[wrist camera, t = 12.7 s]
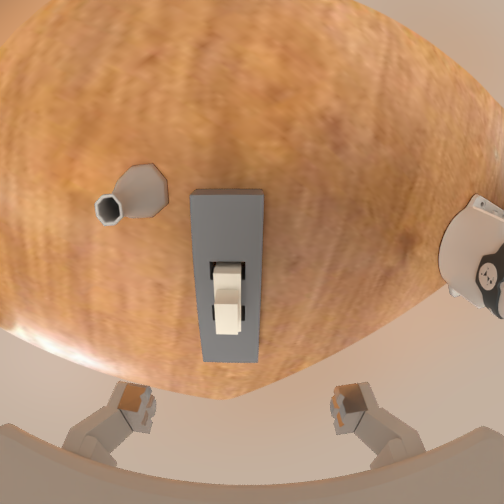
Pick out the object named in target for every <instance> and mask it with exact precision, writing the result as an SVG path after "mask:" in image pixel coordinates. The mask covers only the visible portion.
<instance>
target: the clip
mask: <svg viewBox="0 0 504 504" xmlns="http://www.w3.org/2000/svg"><path fill="white" fill-rule="evenodd" d="M213 280H214V298H215V302H214V308H215V324H216V334H228V335H238V332H241V262H216V267H215V268H214V272H213Z"/></svg>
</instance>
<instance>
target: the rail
mask: <svg viewBox="0 0 504 504" xmlns="http://www.w3.org/2000/svg"><path fill="white" fill-rule="evenodd" d="M190 213H191V233H192V250H193V264H194V277H195V289H196V300H197V310H198V320H199V329H200V338H201V346H202V354H203V362H227V363H258V350H259V326H260V301H261V275H262V246H263V214H264V194H263V191H262V189H196V190H195V191H194V192H193V193H192V194H190ZM213 262H245V266H241V332H238V335H228V334H216V324H215V308H214V302H215V298H214V280H213V272H214V268H215V267H216V266H213Z"/></svg>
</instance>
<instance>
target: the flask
mask: <svg viewBox="0 0 504 504" xmlns="http://www.w3.org/2000/svg"><path fill="white" fill-rule="evenodd" d="M168 203H169V202H168V189H167V180H166V179H165V178H164V176H163V175H162V174H161V173H160V172H159V171H158V169H157V168H156V167H155V166H154V165H153V163H152V164H143V165H135V166H131V167H130V168H129V169H128V170H127V171H126V172H125V173H124V174H123V175H122V176H121V178H120V179H119V180H118V181H117V183H116V185H115V188H114V190H113V192H112V194H104V195H102V196H101V197H100V198H99V199H98V200H97V201H96V203H95V204H94V205H95V212H96V217H97V218H98V219H99V220H100V222H101V223H102V224H103V225H104V226H110V225H116V224H117V223H118V222H119V221H120V220H121V219H122V218H123V217H124V216H125V217H129V218H148V217H154V216H155V215H156V214H157V213H158V212H159V211H160V210H161V209H163V208H164V207H165V206H166V205H167V204H168Z"/></svg>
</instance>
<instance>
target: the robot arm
mask: <svg viewBox="0 0 504 504" xmlns="http://www.w3.org/2000/svg"><path fill="white" fill-rule="evenodd" d="M439 269H440V273H441V275H442V277H443V279H444V280H445V281H446V282H447V284H448V286H449V292H450V295H452V296H453V297H458V296H460V295H461V296H462V297H464V298H465V299H466V300H468V301H469V302H471V303H472V304H473V305H475V306H476V307H477V308H483V307H487V308H488V309H489V310H490V312H491V313H492V314H493V315H496V316H497V317H498V318H500V319H504V210H502V209H501V208H499V207H498V206H496V205H495V204H493V203H491V202H490V201H488V200H487V199H485V198H483V197H482V196H480V195H478V194H475V195H474V196H473V197H472V199H471V200H470V202H469V204H468V205H467V207H466V208H465V209H464V210H462V211H461V212H460V213H459V214H458V215H457V216H456V217H455V218H454V219H453V220H452V222H451V223H450V225H449V226H448V228H447V230H446V232H445V234H444V237H443V240H442V243H441V247H440V252H439ZM151 392H152V390H151V388H150V386H145V385H139V384H133V383H127V382H121V381H119V382H118V383H117V384H116V386H115V388H114V391H113V393H112V395H111V398H110V400H109V402H108V405H107V407H105V406H103V407H102V408H100V409H99V410H98V411H96V412H94V413H93V414H92V415H90V416H89V417H87V418H86V419H84V420H83V421H81V422H79V423H78V424H76V425H75V426H73V427H72V428H71V429H70V430H69V432H68V435H67V437H66V439H65V441H64V444H63V446H62V448H59V447H57V446H54V445H52V444H50V443H48V442H46V441H44V440H41V439H39V438H37V437H35V436H33V435H31V434H29V433H27V432H25V431H24V430H22V429H20V428H18V427H17V426H15V425H13V424H9V423H8V424H4V425H2V426H0V504H504V436H503V435H502V434H500V433H498V432H496V431H494V430H492V429H490V428H488V427H485V426H481V427H479V428H476V429H475V430H473V431H471V432H469V433H467V434H465V435H463V436H461V437H459V438H457V439H455V440H453V441H451V442H448V443H446V444H444V445H442V446H439V447H437V448H435V449H432V450H430V451H427V452H426V450H425V448H424V446H423V443H422V441H421V439H420V436H419V434H418V432H417V431H416V430H414V429H413V428H412V427H410V426H408V425H407V424H406V423H404V422H402V421H401V420H400V419H398V418H397V417H395V416H394V415H392V414H391V413H389V412H388V411H386V410H385V409H383V408H379V406H378V404H377V401H376V398H375V396H374V394H373V392H372V389H371V387H370V384H369V383H368V382H363V383H357V384H356V383H355V384H349V385H342V386H336V387H335V389H334V396H333V397H332V398H331V402H330V410H331V414H332V416H333V417H334V418H335V421H334V427H335V431H336V435H340V434H347V433H353V432H354V434H355V435H356V436H358V438H360V439H361V440H362V441H363V442H364V443H365V444H366V445H367V446H368V447H369V448H370V449H371V450H372V451H374V453H376V454H377V455H378V456H377V457H376V458H375V459H374V461H373V462H372V463H371V464H370V468H371V470H368V471H364V472H360V473H355V474H350V475H345V476H340V477H335V478H329V479H322V480H316V481H308V482H298V483H287V484H272V485H224V484H207V483H197V482H188V481H180V480H173V479H167V478H161V477H156V476H150V475H145V474H141V473H137V472H132V471H128V470H124V469H120V468H117V467H116V465H117V462H116V460H115V459H114V458H113V457H112V456H111V455H110V453H111V452H112V451H113V450H114V449H115V448H116V447H117V446H119V445H120V444H121V443H122V442H123V441H124V440H125V439H126V438H127V437H128V436H129V435H130V434H131V433H132V432H133V431H136V432H142V433H148V434H149V433H150V430H151V426H152V423H153V422H152V420H151V417H153V416H154V415H155V412H156V400H155V397H154V396H153V395H151Z"/></svg>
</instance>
